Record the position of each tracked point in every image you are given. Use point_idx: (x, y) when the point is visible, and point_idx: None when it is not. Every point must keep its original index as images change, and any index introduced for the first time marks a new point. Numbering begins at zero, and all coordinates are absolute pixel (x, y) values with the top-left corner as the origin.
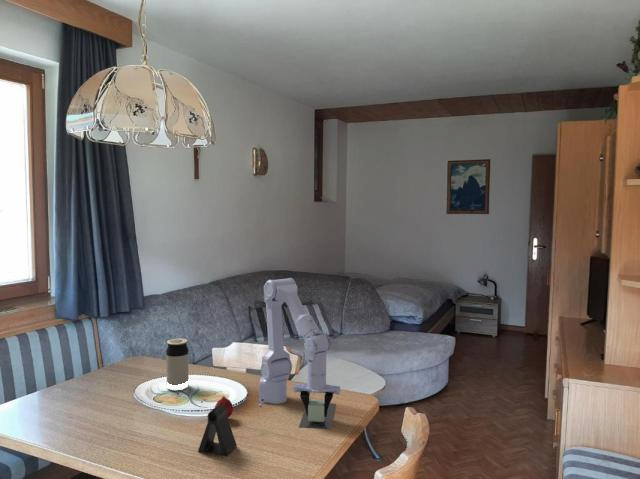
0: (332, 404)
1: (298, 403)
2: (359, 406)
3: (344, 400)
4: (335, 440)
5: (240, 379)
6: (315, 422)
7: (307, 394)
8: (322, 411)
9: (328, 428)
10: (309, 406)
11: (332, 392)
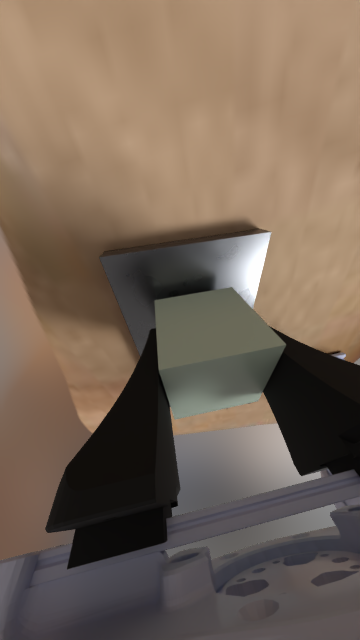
0: (169, 403)
1: None
2: None
3: None
4: (19, 141)
5: None
6: None
7: (355, 445)
8: (167, 334)
9: (117, 262)
10: (269, 340)
11: (83, 562)
